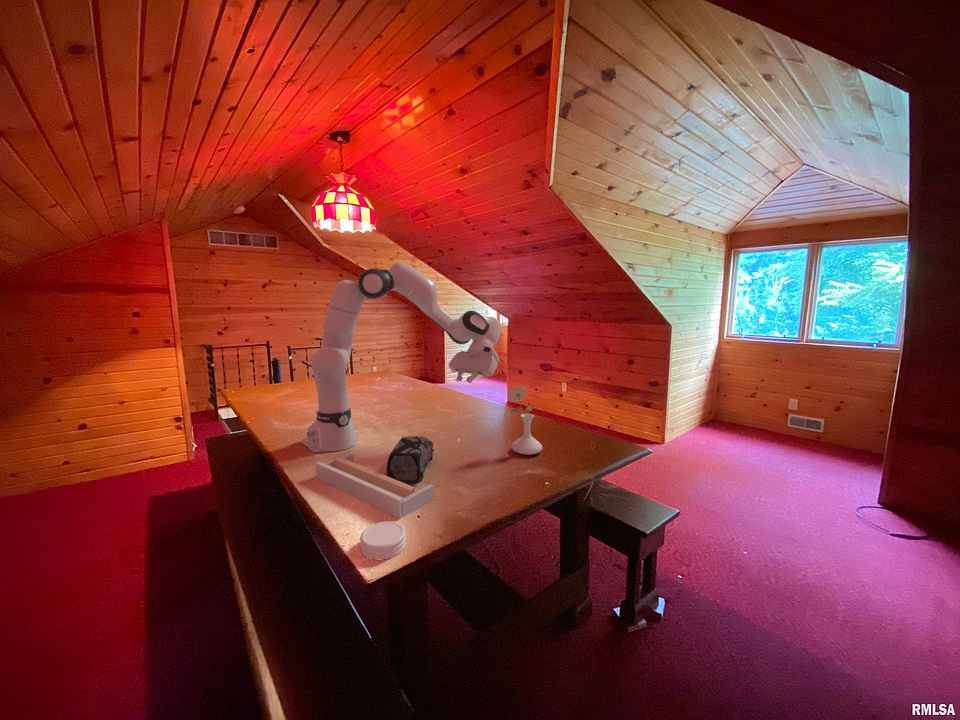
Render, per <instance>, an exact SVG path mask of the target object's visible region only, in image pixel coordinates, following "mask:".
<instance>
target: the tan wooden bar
mask: <svg viewBox="0 0 960 720" xmlns="http://www.w3.org/2000/svg"><path fill="white" fill-rule="evenodd" d="M341 457H342V456H339V457H336V458H334V459H333V460H334V464H335V468H336V469H339V470H341V471H343V472H345V473H348V474H350V475H352V476H354V477H357V478H359V479H361V480H364V481H366V482H368V483H370V484H373V485H375V486H377V487H380V488H382V489H384V490H386V491H389V492H391V493H393V494H396V495H398V496H400V497H402V498H405V497H407V496H409V495H411V494H412V493H414V492H416V487H415V486H412V485H411V484H408V483H403V482H400V481H398V480H395V479H393V478H390V477H388V476H387V475H385V474H383V473H380V472H377V471H375V470H372V469H370V468H368V467H365V466H362V465H360V464H358V463H356V462H354V461H353V462H351V461H348V460H346V459H343V458H341Z"/></svg>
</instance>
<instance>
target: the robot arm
mask: <svg viewBox="0 0 960 720" xmlns="http://www.w3.org/2000/svg"><path fill="white" fill-rule="evenodd" d="M391 291H392V292H393V291H395V292H397V293H399V294H400V295H402V296H404V297H405V298H407V299H408V300H409V301H411V302H412V303H413V304H414V305H416V306H417V307H418V308H419V309H420V311H421V312H422V313H423V314H424V315H425V316H427V318H429V319H430V320H431V321H432V322H434V323H435V324H436V325H438V326H439V327H440V328H441V329H442V330H443V331H444V332H445V333H446V334H447V335H448V336H449V338H450V339H451V340H452V341H453V342H454V343H456V344H458V345H466V344H467V343H469V342H471V344H470V345H469V346H468V349H467V351H463V350H461V351H459V352H457V353H456V354H454V356H452V358H451V360H450V361H449V362H448V368H449V369H450V370H451V371H452V372H456V373H457V376H456V379H455V380H456V381H458V382H462V381H463V380H464V378H463V375H464V374H470V375H469V376H467V378H466V379H465V381H466V382H467V383H468V384H471V383H472V382H473V381H474V380H475V379H476V378H478V376H487V377H491V376H493V375H494V374H495V372H496V370H497V367H498V363H499V361H500V357H499V355H498V354H497V352H496V351H495V349H494V347H495V346H496V345H497V344H498V341H499V340H500V337H501V335H502V331H503V327H502V326H503V325H502V323H501V321H499V319H497V318H496V317H493V316H485V315H483V314H480V313H479V312H477V311H475V310H468V311H467V310H466V311H465V312H464V313H463V314H462V315H460V316H459V318H458V319H457V318H453V316H451V315H450V314H449V313H448V312H446V311H445V309H443V308H442V307H441V306H440V305H439V303H438V288H437V285H436V284H435V282H434V281H433V280H432V279H431V278H429V277H428V276H427V275H426V274H424V273H422V272H421V271H420V270H418V269H416V268H415V267H414V266H411V265H410V264H407V263H405V262H402V261H397V262H395V263H393V264H392V266H390V268H389V269H380V268H368V269H366V270H364V271H363V272H361V274H359V276H358V279H357V280H356V281H355V280H350V279H344V280H340V281H339V282H337V284H336V285H335V287H334V289H333V292H332V294H331V296H330V300H329V302H328V307H327V311H326V315H325V318H324V319H325V320H324V323H323V328H322V329H323V333H322V342H321V347H320V348H319V349H317V350H316V351H315V352H314V353H313V355H312V357H311V361H310V368H311V370H312V372H313V373H312V374H313V378H314V381H315V386H316V391H317V404H318V410H316V411H315V412H316V413H315V415H316V419H315V420H314V422H313V423H312V424H311V425H309V426H308V428H307V431H306V437H305V438H302V440H301V444H302V445H304V446H305V447H306V446H307V447H306V448H308V449H309V451H311V450H312V451H311V452H312V453H321V452H337V451H342V450H346V449H349V448H352V447H353V446H355V444H356V441H357V440H359V438H358V435H356V432H355V424H354V420H353V419H352V411H351V407H350V395H349V393H350V392H349V386H348V382H347V376H346V367H347V366H348V365H349V362H350V358H351V354H352V349H353V348H352V347H353V342H354V336H355V332H356V328H357V327H356V326H357V324H358V320H359V317H360V312H361V309H362V305H363V302H364V301H365V300H366V299H367V300H368V299H369V300H380V299H382V298H384V297H385V296H387V294H388V293H389V292H391ZM471 340H472V341H471Z"/></svg>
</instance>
